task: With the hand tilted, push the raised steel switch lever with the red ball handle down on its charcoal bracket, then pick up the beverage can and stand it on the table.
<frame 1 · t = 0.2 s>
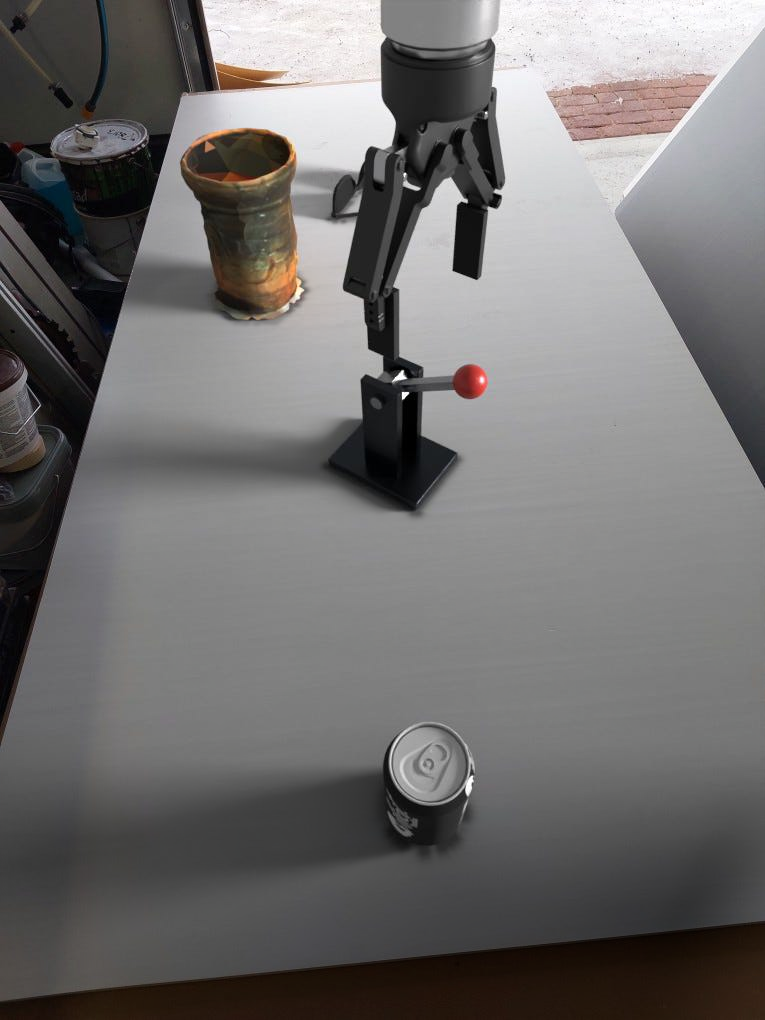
hand: (427, 311, 61), 22 cm above the table, tool pointing down, fingers open, 13 cm apart
beverage can: (424, 805, 58), on the table
sunglasses: (390, 207, 114), on the table
lever: (430, 384, 67), point 15 cm above the table, hinge at 30.0°
vessel: (263, 292, 100), on the table
bracket: (393, 462, 80), on the table
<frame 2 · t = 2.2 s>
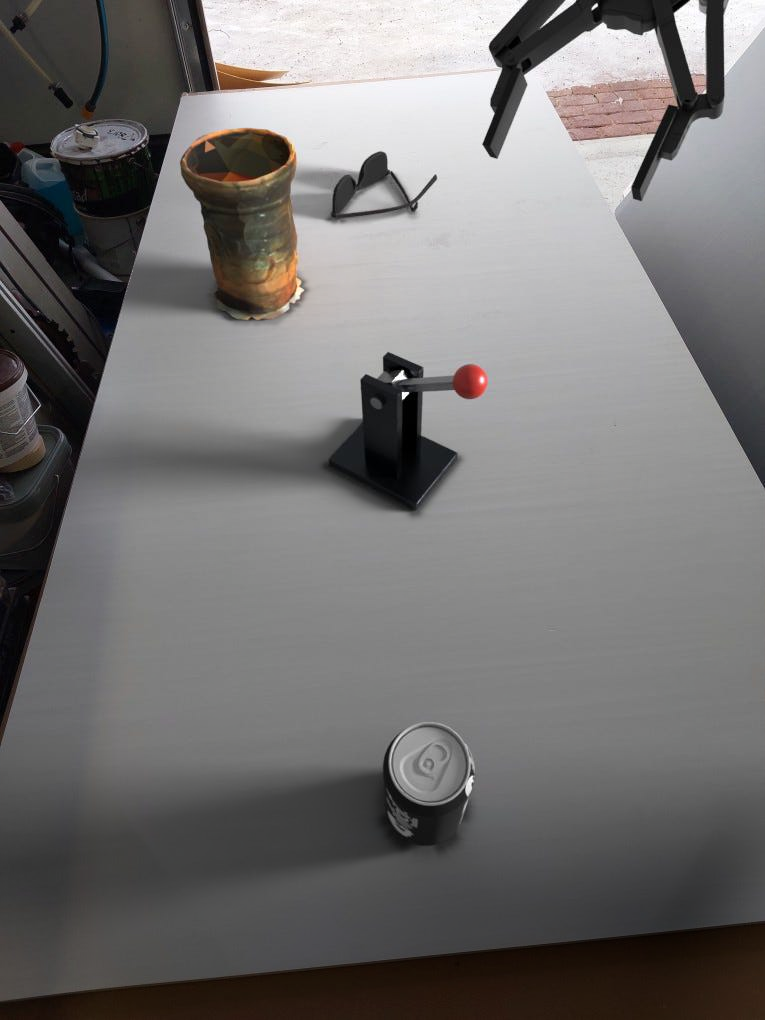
hand: (560, 172, 59), 31 cm above the table, tool tilted 45°, fingers open, 13 cm apart
nothing on the table moved.
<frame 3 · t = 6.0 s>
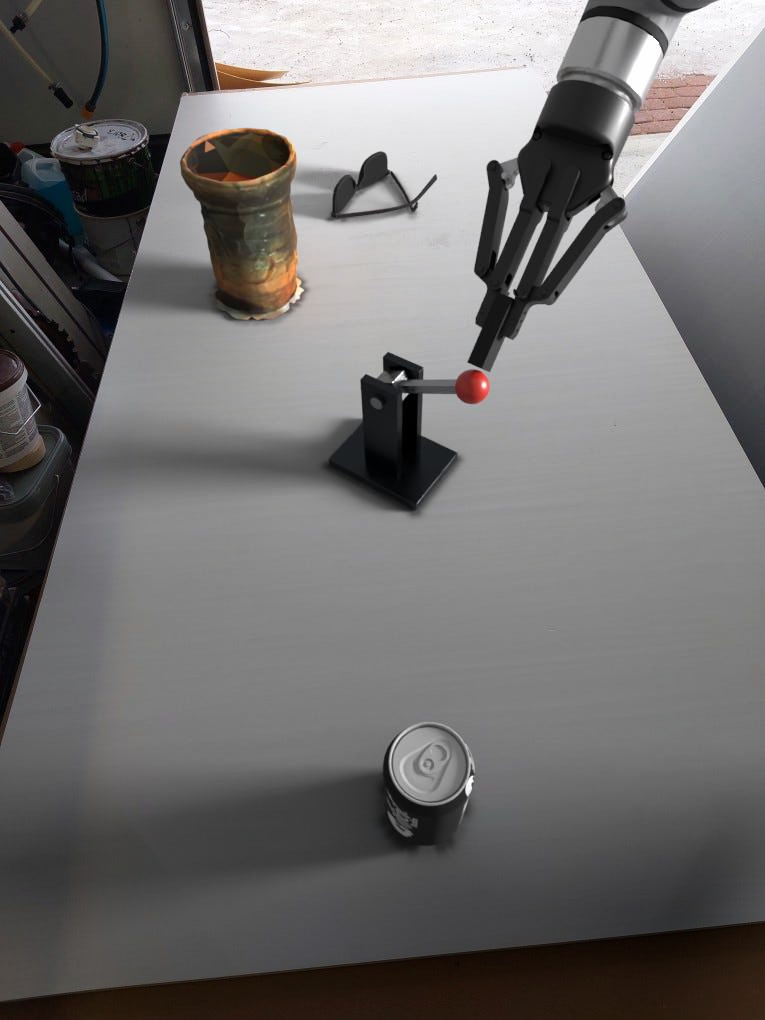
hand: (478, 367, 63), 18 cm above the table, tool tilted 45°, fingers closed
lever: (431, 386, 67), point 14 cm above the table, hinge at 26.7°, touching gripper
everything else where it was.
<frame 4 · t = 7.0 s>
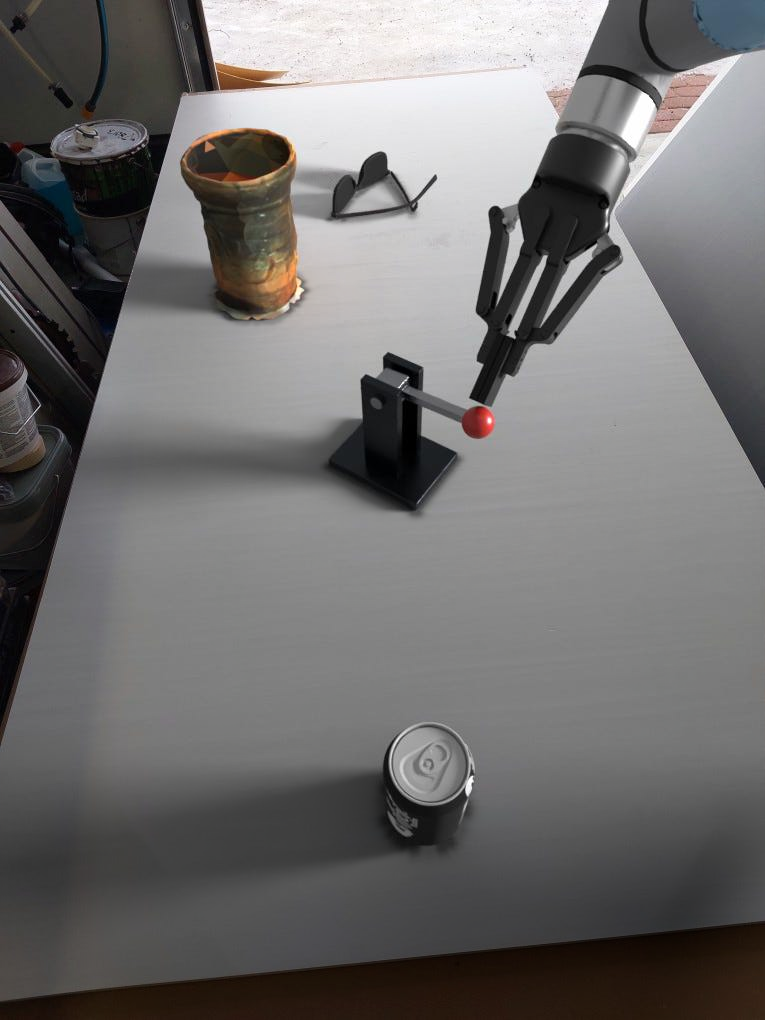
hand: (480, 402, 65), 15 cm above the table, tool tilted 45°, fingers closed
lever: (434, 404, 69), point 12 cm above the table, hinge at 2.2°, touching gripper
everything else where it was.
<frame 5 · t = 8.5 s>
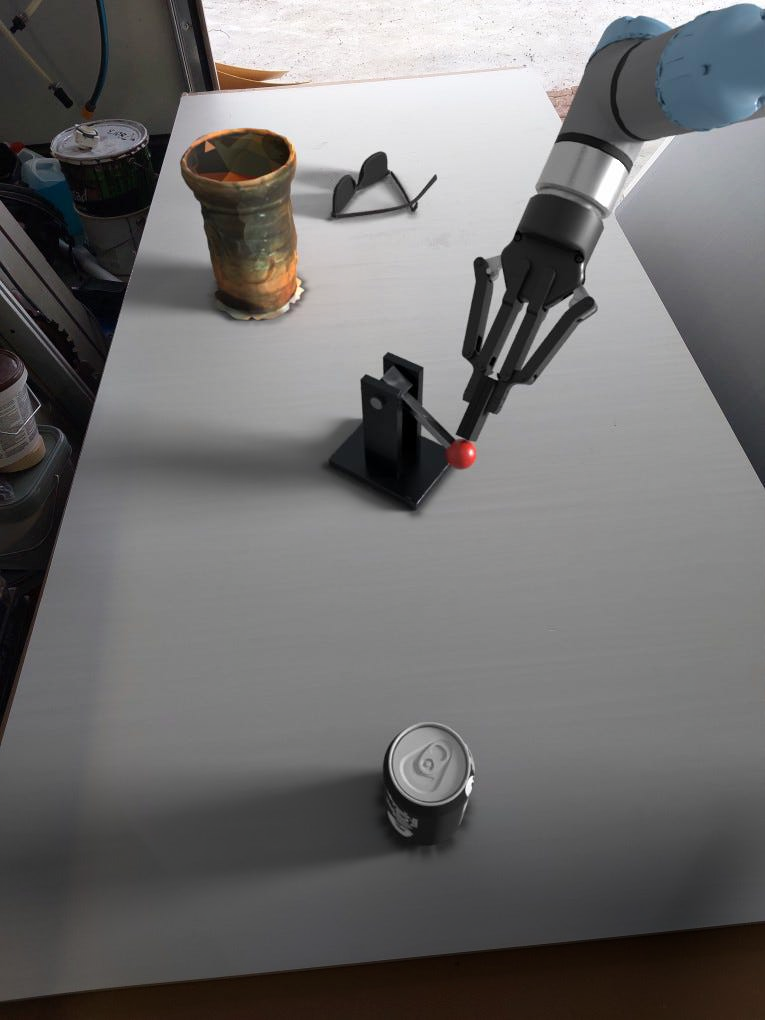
hand: (466, 437, 70), 9 cm above the table, tool tilted 45°, fingers closed
lever: (427, 421, 71), point 9 cm above the table, hinge at -31.3°, touching gripper
everything else where it was.
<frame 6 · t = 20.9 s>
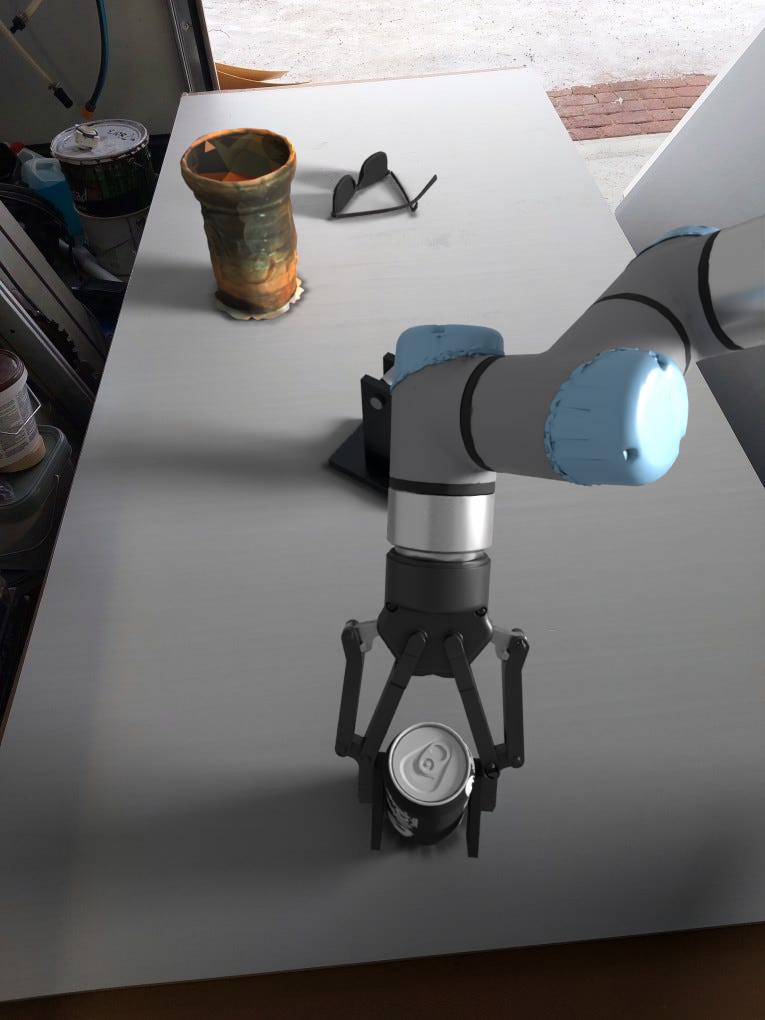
hand: (424, 842, 53), 3 cm above the table, tool tilted 45°, fingers closed on beverage can, 7 cm apart
beverage can: (424, 805, 58), on the table, touching gripper
lever: (427, 421, 71), point 9 cm above the table, hinge at -32.5°
everything else where it was.
when the fingers open (3 cm above the table, at t = 27.3 s): beverage can stays where it is, on the table.
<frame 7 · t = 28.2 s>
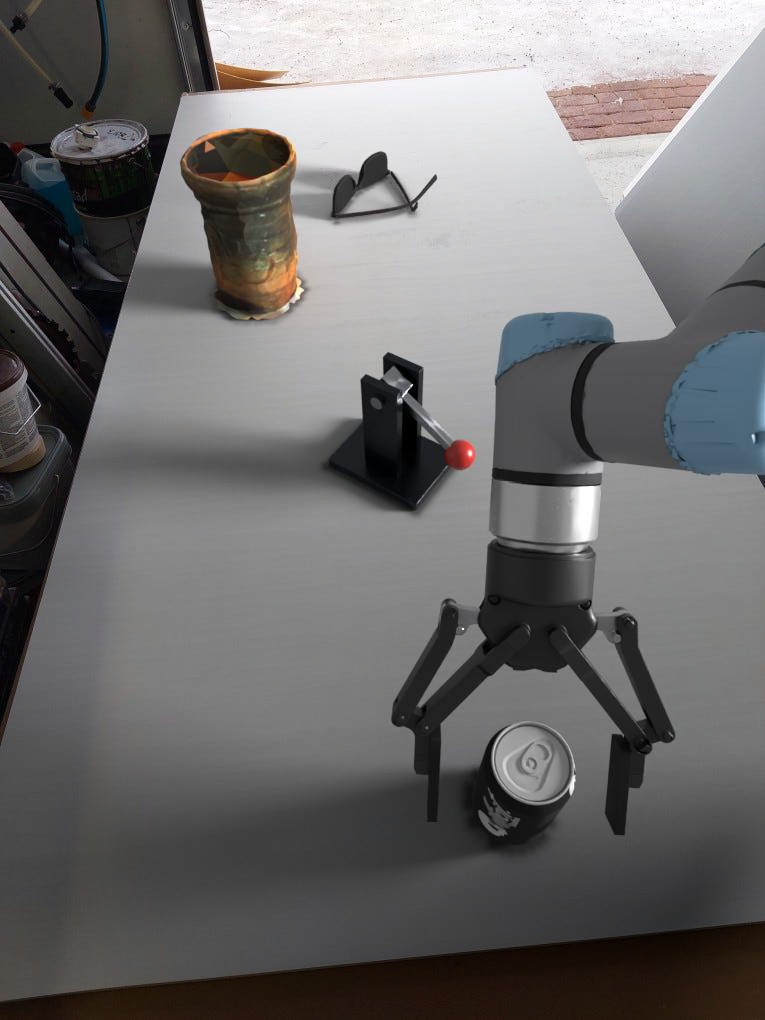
hand: (522, 818, 52), 5 cm above the table, tool tilted 45°, fingers open, 13 cm apart
beverage can: (509, 805, 58), on the table
everything else where it was.
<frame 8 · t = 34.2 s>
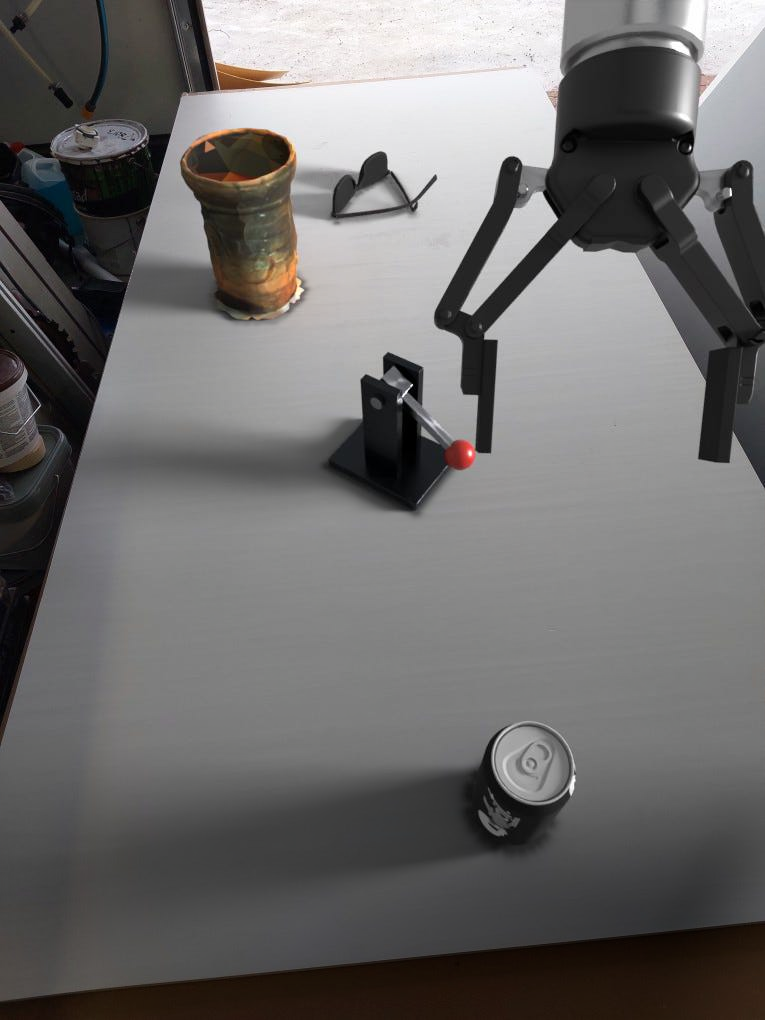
hand: (596, 457, 41), 30 cm above the table, tool tilted 45°, fingers open, 13 cm apart
nothing on the table moved.
at the end: lever at -32° (first picture: +30°); beverage can tilted 0° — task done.
